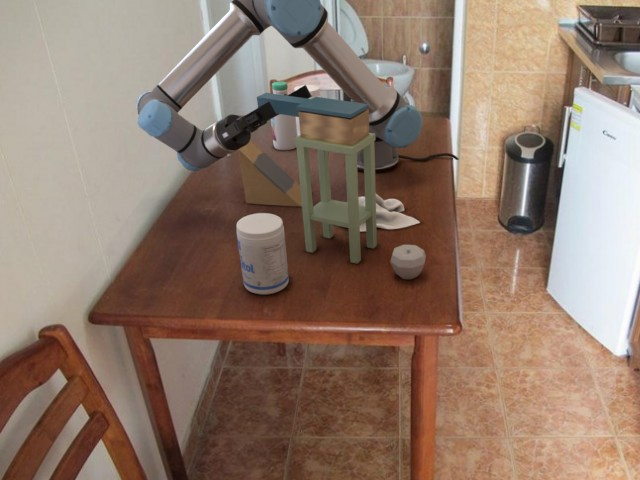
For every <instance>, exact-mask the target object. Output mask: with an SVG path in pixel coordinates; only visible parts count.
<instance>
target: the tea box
mask: <svg viewBox="0 0 640 480" xmlns="http://www.w3.org/2000/svg"><path fill="white" fill-rule="evenodd" d="M299 123H300V133H301V134H300V135H301V137H303V138H309V139H314V140H320V141H326V142H332V143H338V144H344V145H349V146H353V145H354V144H356V143H357V142H359V141H360V140H362V139H363V138H365V137H367V136H368V135H369V110H368V109H366V110H364V111H362V112H361V113H359V114H357V115H355V116H354V117H352V118H346V117H339V116H333V115H326V114H320V113H313V112H307V111H299Z"/></svg>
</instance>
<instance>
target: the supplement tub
mask: <svg viewBox="0 0 640 480" xmlns="http://www.w3.org/2000/svg"><path fill="white" fill-rule="evenodd" d="M235 226H236V239H237V240H236V241H237V249H238V253H239V262H240V268H241V275H242V281H243V286H244V288H245V289H246V291H249V292H250V293H253V294H256V295H271V294H272V295H273V294H276V293H278V292H280V291H282V290H284V289H285V288H286V287H287V286H288V284H289V281H290V278H289V277H290V276H289V265H288V256H287V244H286V234H285V233H286V232H285V226H284V222H283V218H281V217H280V216H278V215H276V214H273V213H267V212H258V213H251V214H248V215H246V216H243V217H241V218H240V219H239V220H238V221H237V222H236V225H235Z"/></svg>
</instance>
